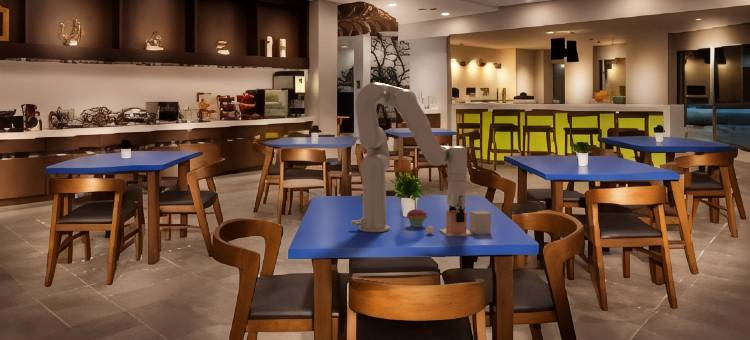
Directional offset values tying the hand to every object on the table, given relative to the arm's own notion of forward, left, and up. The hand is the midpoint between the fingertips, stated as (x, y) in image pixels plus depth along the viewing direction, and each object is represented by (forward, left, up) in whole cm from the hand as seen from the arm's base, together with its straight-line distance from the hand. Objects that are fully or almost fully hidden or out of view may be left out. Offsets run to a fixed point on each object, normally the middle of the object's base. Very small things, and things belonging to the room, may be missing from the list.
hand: (456, 219), depth 245 cm
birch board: (0, 0, -5) cm, 5 cm away
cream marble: (-11, 0, -5) cm, 12 cm away
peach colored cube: (0, 0, -5) cm, 5 cm away
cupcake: (-12, +17, -6) cm, 22 cm away
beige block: (+10, 0, -5) cm, 11 cm away
